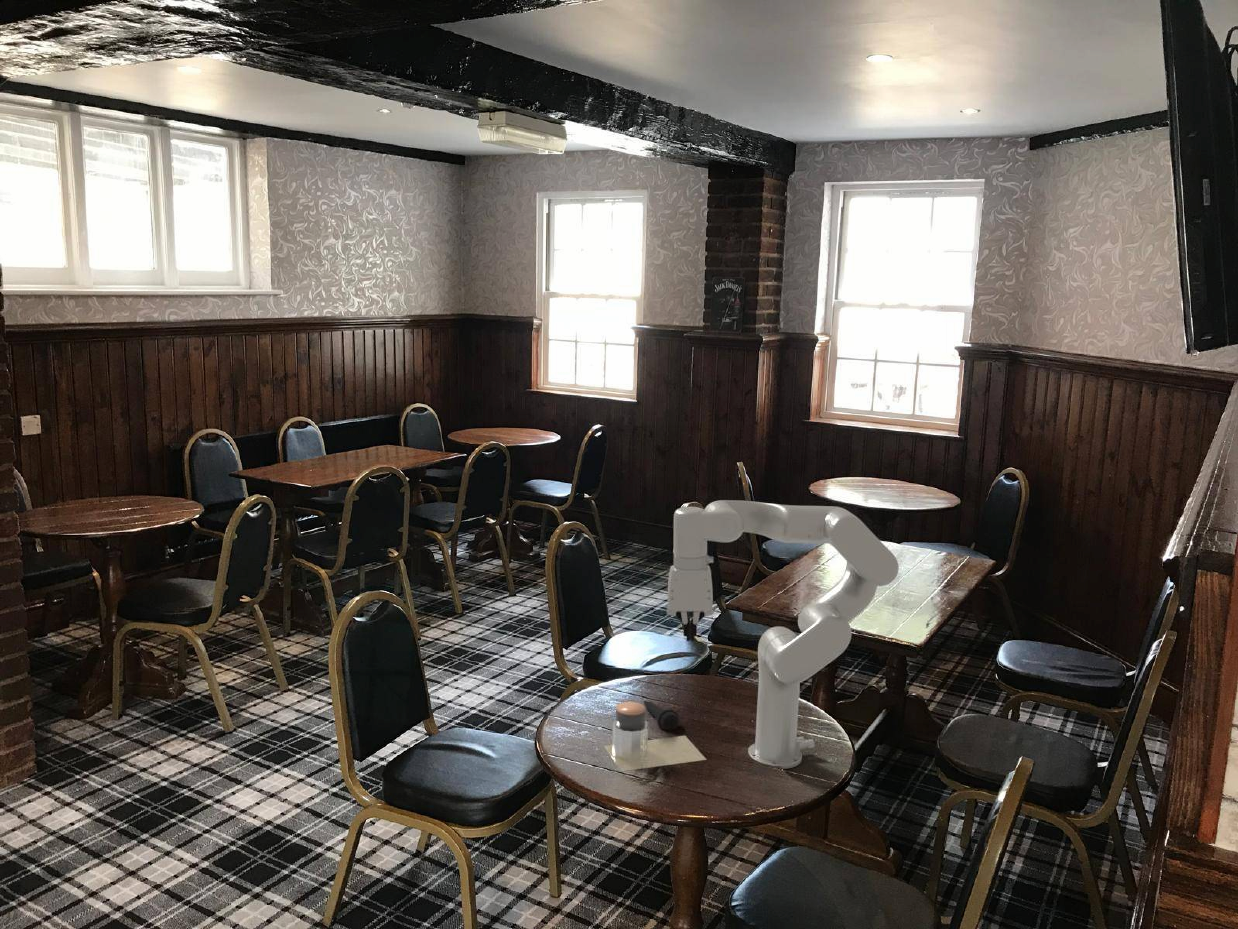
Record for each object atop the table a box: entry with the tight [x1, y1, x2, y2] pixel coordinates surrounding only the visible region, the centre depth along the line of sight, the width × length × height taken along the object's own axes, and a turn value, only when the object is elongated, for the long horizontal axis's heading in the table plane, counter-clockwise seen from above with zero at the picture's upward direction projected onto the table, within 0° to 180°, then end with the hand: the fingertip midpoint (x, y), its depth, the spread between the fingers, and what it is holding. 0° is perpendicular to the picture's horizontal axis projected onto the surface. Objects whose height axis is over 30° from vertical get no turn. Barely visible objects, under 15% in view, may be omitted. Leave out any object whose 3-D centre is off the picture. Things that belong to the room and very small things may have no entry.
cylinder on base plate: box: [603, 719, 707, 772], centre depth 232 cm, size 21×13×8 cm, turn 109°
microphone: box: [643, 700, 680, 732], centre depth 253 cm, size 6×6×20 cm
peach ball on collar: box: [615, 701, 646, 730], centre depth 231 cm, size 7×7×7 cm
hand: (690, 639), depth 227 cm, fingers closed
